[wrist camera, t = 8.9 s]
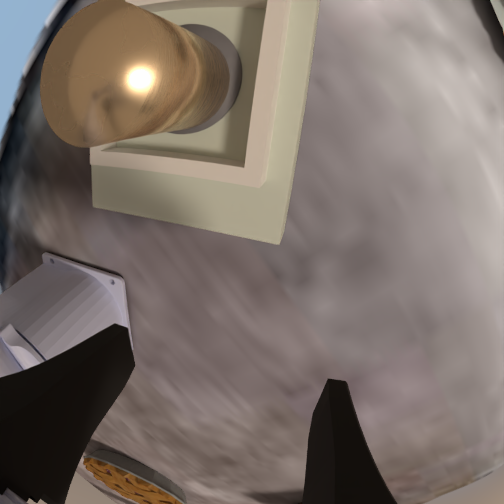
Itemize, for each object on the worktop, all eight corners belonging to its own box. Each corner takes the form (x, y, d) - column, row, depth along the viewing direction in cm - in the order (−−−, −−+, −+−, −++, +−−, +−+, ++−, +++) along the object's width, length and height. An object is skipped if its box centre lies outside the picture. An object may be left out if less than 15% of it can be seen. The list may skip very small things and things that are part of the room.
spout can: (140, 132, 15) (43, 153, 9) (141, 26, 12) (47, 0, 6) (229, 128, 14) (156, 142, 8) (231, 10, 11) (163, -49, 5)
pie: (72, 431, 44) (60, 449, 39) (167, 464, 38) (156, 489, 33) (122, 482, 52) (114, 498, 48) (207, 508, 46) (200, 527, 42)
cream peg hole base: (80, 193, 20) (47, 208, 17) (98, -15, 13) (66, -26, 10) (284, 231, 18) (274, 257, 15) (323, -32, 11) (321, -61, 8)
